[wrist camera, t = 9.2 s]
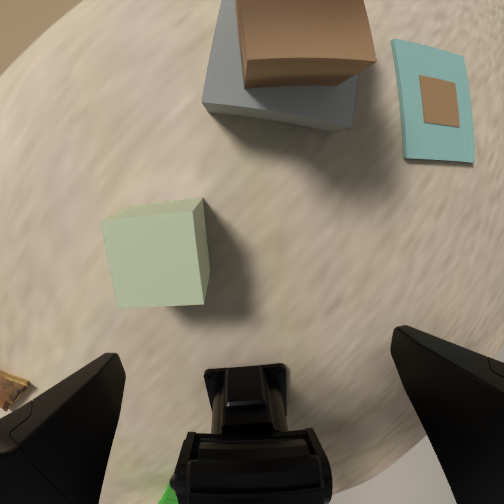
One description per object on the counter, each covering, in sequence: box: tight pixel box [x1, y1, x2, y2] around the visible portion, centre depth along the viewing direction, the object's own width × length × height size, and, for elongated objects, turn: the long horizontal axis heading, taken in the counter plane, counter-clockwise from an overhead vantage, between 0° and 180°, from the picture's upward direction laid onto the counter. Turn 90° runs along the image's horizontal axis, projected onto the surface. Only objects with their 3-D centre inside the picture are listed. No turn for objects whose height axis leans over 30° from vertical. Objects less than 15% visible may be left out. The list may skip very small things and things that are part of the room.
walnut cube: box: [235, 0, 377, 89], centre depth 11 cm, size 5×5×5 cm
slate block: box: [202, 0, 359, 132], centre depth 15 cm, size 8×8×4 cm
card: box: [391, 39, 475, 163], centre depth 17 cm, size 9×7×1 cm
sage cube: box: [100, 198, 211, 308], centre depth 18 cm, size 5×5×5 cm
